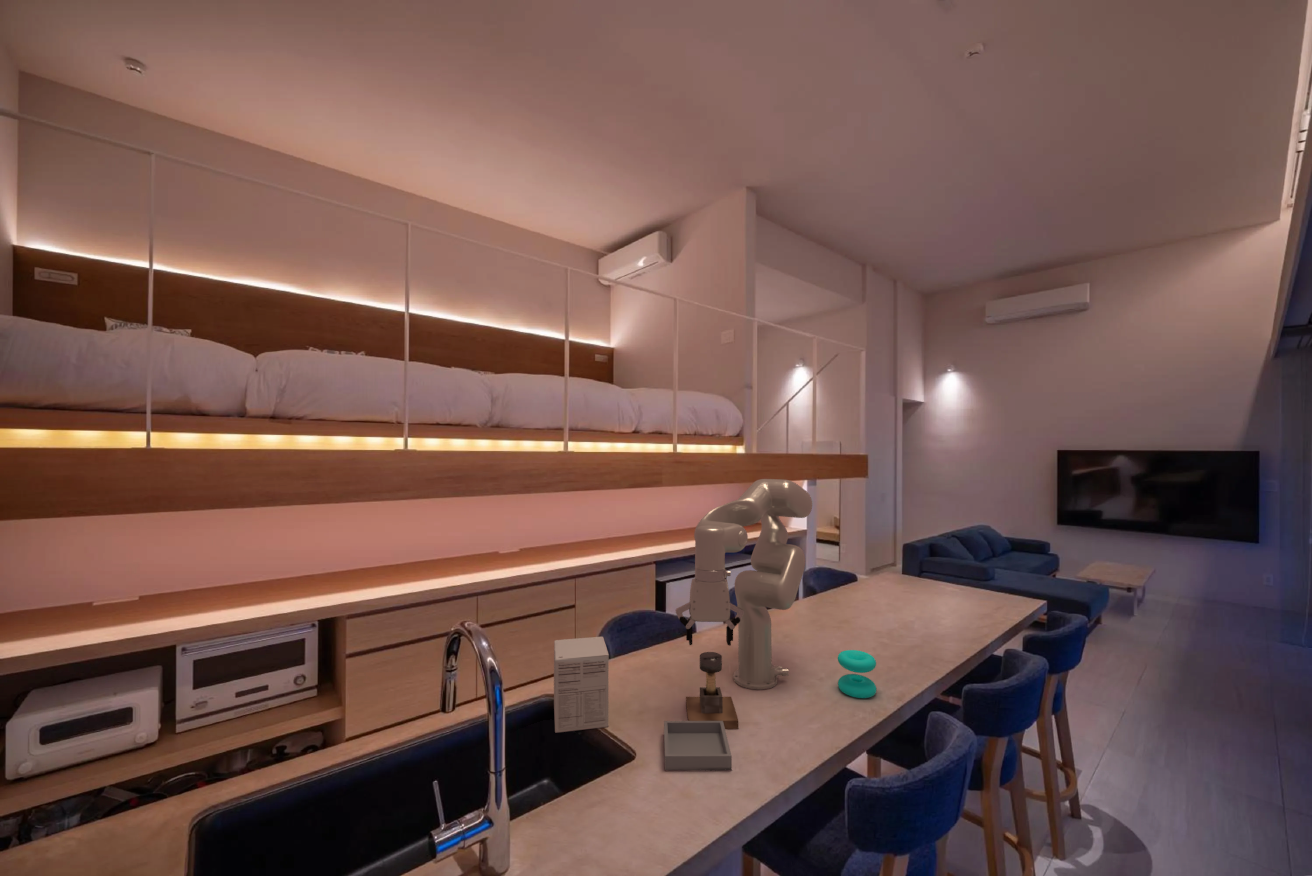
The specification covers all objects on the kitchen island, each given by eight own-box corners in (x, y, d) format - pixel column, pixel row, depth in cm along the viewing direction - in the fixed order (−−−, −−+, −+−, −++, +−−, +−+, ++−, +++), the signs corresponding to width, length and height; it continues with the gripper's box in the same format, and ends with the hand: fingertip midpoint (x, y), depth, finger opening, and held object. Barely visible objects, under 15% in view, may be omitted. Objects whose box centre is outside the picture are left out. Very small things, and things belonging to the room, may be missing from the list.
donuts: (866, 666, 136) (831, 655, 143) (867, 704, 136) (831, 691, 143) (882, 655, 143) (847, 645, 150) (882, 691, 142) (847, 680, 150)
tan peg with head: (720, 702, 132) (720, 651, 133) (723, 713, 127) (723, 660, 127) (698, 702, 132) (698, 651, 133) (700, 713, 127) (700, 660, 127)
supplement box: (609, 727, 125) (609, 654, 125) (554, 734, 122) (554, 659, 122) (603, 701, 137) (603, 635, 138) (553, 706, 135) (553, 639, 135)
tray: (723, 733, 122) (722, 720, 122) (731, 770, 108) (731, 756, 108) (664, 733, 122) (664, 721, 122) (665, 770, 108) (664, 756, 108)
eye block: (731, 704, 136) (731, 681, 136) (738, 729, 124) (738, 703, 124) (685, 704, 136) (685, 681, 136) (688, 729, 124) (688, 704, 124)
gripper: (741, 572, 134) (741, 638, 133) (675, 571, 134) (674, 638, 133) (746, 579, 126) (746, 649, 126) (676, 578, 127) (675, 648, 126)
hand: (709, 643), depth 130 cm, fingers open, 9 cm apart
